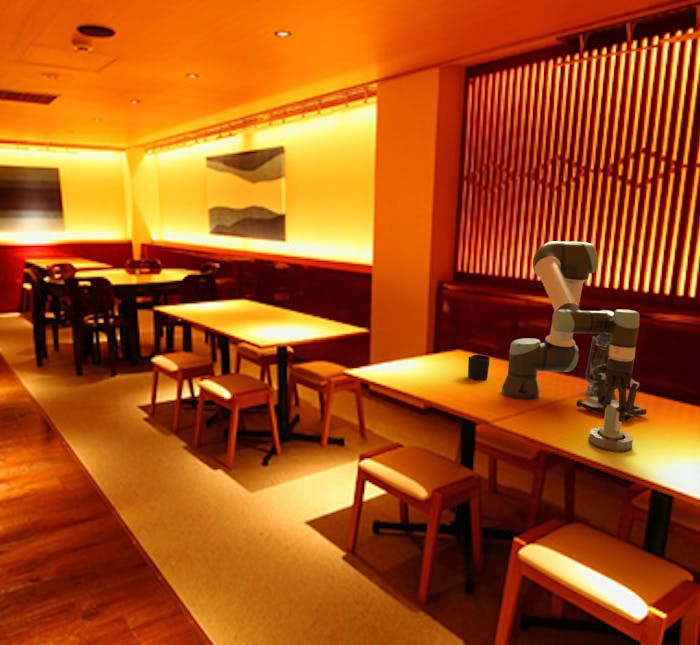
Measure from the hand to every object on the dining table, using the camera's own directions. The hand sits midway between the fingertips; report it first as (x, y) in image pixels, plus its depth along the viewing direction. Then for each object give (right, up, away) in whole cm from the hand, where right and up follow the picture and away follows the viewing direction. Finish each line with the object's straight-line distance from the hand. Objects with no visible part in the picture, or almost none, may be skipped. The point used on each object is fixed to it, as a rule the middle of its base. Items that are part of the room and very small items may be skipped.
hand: (611, 428), depth 182 cm
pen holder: (-27, +9, +74) cm, 79 cm away
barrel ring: (0, -5, +1) cm, 6 cm away
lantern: (+21, +3, +55) cm, 59 cm away
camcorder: (+15, -1, +31) cm, 34 cm away
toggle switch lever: (0, -2, 0) cm, 2 cm away
